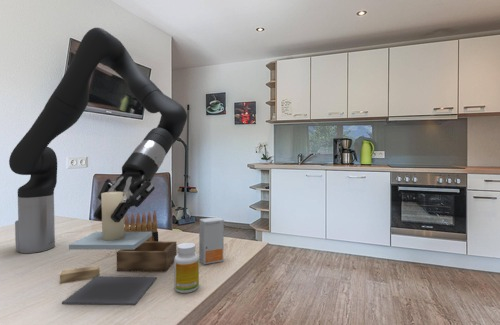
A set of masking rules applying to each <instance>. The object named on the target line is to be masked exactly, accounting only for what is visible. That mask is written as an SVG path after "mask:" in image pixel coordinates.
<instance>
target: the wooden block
mask: <svg viewBox="0 0 500 325" xmlns="http://www.w3.org/2000/svg"><path fill="white" fill-rule="evenodd" d="M100 269H101V268H100V265H94V266H88V267H87V266H86V267H79V268H72V269H67V270H66V269H65V270H61V271H60V274H59V284H60V285H61V284H66V283H73V282H79V281H85V280H92V279H94V278H95V277H96V276H100V274H101V273H100V272H101V270H100Z"/></svg>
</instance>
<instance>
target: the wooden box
mask: <svg viewBox="0 0 500 325" xmlns="http://www.w3.org/2000/svg"><path fill="white" fill-rule="evenodd" d="M177 254H178V252H177V241H162V240H161V241H159V240H158V241H145V242H143V243H142V244H141V245H139V246H138V247H137V248H136V249H134V250H117V251H116V272H154V273H155V272H161V273H162V272H163V273H164V272H168V270H169V269H170V268H171V266H172V265H173V264H174V259H175V256H176V255H177Z"/></svg>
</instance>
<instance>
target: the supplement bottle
mask: <svg viewBox="0 0 500 325" xmlns="http://www.w3.org/2000/svg"><path fill="white" fill-rule="evenodd" d="M176 248H177V255H176V256H175V259H174V263H173V264H174V265H173V266H174V267H173V268H174V272H173V273H174V275H173V276H174V278H173V280H174V281H173V282H174V286H173V287H174V290H175V292H178V293H181V294H188V293H191V292H192V293H193V292H194V291H196V290H197V289H198V288H199V285H200V284H199V283H200V281H199V280H200V277H199V275H200V272H199V270H200V269H199V266H200V265H199V263H200V262H199V261H200V260H199V254H197V253H196V244H195V243H193V242H183V243H180V244H178V245H176Z"/></svg>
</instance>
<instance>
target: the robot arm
mask: <svg viewBox="0 0 500 325" xmlns="http://www.w3.org/2000/svg"><path fill="white" fill-rule="evenodd" d="M99 64H101V65H103V66H105V67H108V68H109V69H111V70H113V71H114V72H115V73H116V74H117V75H119V77H121V78H122V79H123V81H124V82H125V84H126V85H127V89H128V90H129V92H130V93H131V95H133V97H134V98H135V99H136V101H138V103H139V104H140V105H141V107H143V108H144V109H145V110H146V111H147V112H148V113H150V114H157V113H160V115H161V116H160V120H159V122H158V125H157V126H156V127H154V128H152V129H151V130H150V131H149V132H148V133H147V134H146V136H145V137H144V138H143V139H142V141H141V142H140V143H139V144H138V145H137V146H136V147H135V148H134V150H133V151H132V152H131V154H130V155H129V157H128V158H127V159H126V160H125V162H124V163H123V164H122V166H121V174H120V175H119V176H117V178H116V179H115V180H111V179H110V178H107V179H106V180H104V184H103V185H102V186H101V189H100V191H99V192H98V193H99V194H98V196H97V199H99V201H101V193H105V192H123V194H124V196H123V198H122V201H121V202H122V203H119V205H118V206H117V208H116V209H115V211H114V212H113V213H112V215H111V219H112V220H113V221H114V222H120V220H121V219H122V218H123V217H124V218H125V216H126V215H127V212H128V210H129V209H132V208H133V207H135V208H139V206H141V205H142V204H143V202H145V200H146V199H147V198H148V197H149V196H150V195H151V194H152V192H153V191H155V188H156V187H155V186H154V184H153V183H152V180H153V179H154V177H155V175H156V174H157V172H158V171H159V169H160V168H161V166H162V164H163V163H164V160H165V158H166V156H167V155H168V153H169V151H170V149H171V148H172V146H173V145H174V144H175V142H177V140H178V139H179V137H180V136H181V135H182V133H183V130H184V128H185V125H186V123H187V120H188V112H187V111H186V109H185V107H184V106H182V104H181V103H179V102H178V101H176V100H174V99H173V98H171V97H169V96H168V95H166V94H165V93H164V92H163V91H162V90H161V89H160V88H159V87H158V86H157V85H156V84H155V83H154V82H153V81H152V80H151V79H150V78H149V77H148V76H147V75H146V73H144V72H143V70H142V69H141V68H140V67H139V66H138V64H137V63H136V62H135V61H134V58H132V56H131V54H130V53H129V51H128V50H127V48H126V47H125V45H124V44H123V43H122V41H121V40H119V39H118V38H117V37H116V36H115V35H112V34H111V33H110V32H108V31H107V30H105V29H104V28H102V27H93V28H91V29H89V30H88V31H86V33H85V34H84V36H82V39H81V40H80V43H79V45H78V47H77V48H76V51H75V54H74V55H73V58H72V60H71V62H70V64H69V66H68V68H67V70H66V71H65V73H64V75H63V77H62V78H61V80H60V82H59V83H58V85H57V86H56V87H55V89H54V91H53V93H52V94H51V95H50V97H49V98H48V100H47V102H46V103H45V106H44V108H43V109H42V110H41V112H40V113H39V115H38V116H37V118H36V119H35V121H34V122H33V124H32V125H31V126H30V128H29V130H27V132H26V133H25V134H24V135H23V137H22V138H21V139H20V141H19V142H18V143H17V144H16V146H15V147H14V148H13V149H12V151H11V152H10V155H9V160H8V163H9V168H10V169H11V171H12V172H13V173H14V174H17V175H21V176H30V177H29V180H28V181H27V182H26V183H25V184H22V185H21V186H20V187H18V188H17V216H18V217H17V219H18V220H15V222H14V232H15V234H14V236H15V237H14V238H15V252H18V253H21V254H33V253H39V252H44V251H49V250H50V249H53V248H54V247H55V246H56V238H55V236H56V235H55V234H56V231H55V229H56V228H55V226H56V224H55V195H54V194H55V188H56V186H57V181H58V180H57V179H58V158H57V154H56V152H55V151H54V149H53V148H52V147H49V145H50V144H51V142H52V141H53V140H55V139H56V138H57V137H58V136H59V135H61V134H63V133H65V132H66V131H67V130H68V129H70V128H71V127H72V126H74V125H75V124H77V122H78V121H79V119H80V118H81V117H82V115H83V113H84V112H85V110H86V108H87V106H88V104H89V101H90V82H91V78H92V75H93V74H94V72H95V70H96V68H97V67H98V65H99ZM139 196H140V197H139ZM93 218H95V219H96V220H97V221H102V202H100V204H99V206H98V207H97V208H96V210H95V211H94V213H93Z"/></svg>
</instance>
